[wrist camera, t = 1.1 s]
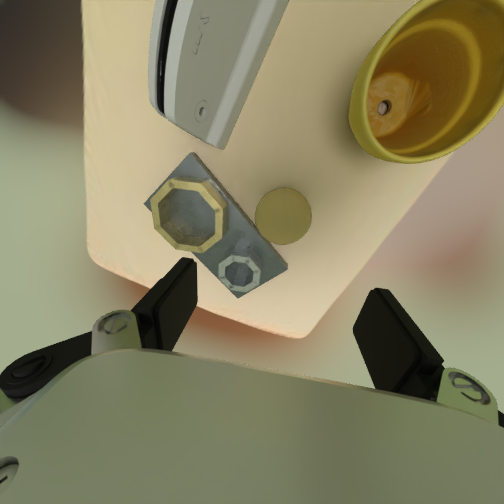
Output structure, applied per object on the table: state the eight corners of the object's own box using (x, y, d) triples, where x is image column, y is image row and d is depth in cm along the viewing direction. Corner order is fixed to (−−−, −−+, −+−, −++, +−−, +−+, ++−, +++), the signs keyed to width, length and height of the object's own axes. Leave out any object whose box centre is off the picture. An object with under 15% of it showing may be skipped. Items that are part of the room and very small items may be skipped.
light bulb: (277, 231, 32) (275, 263, 23) (252, 197, 30) (239, 219, 21) (313, 207, 29) (327, 233, 20) (289, 169, 27) (292, 180, 19)
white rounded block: (222, 152, 28) (164, 135, 19) (197, 134, 28) (130, 110, 20) (294, -13, 20) (252, -172, 11) (257, -31, 21) (190, -191, 12)
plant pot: (457, 75, 21) (576, 26, 13) (387, 171, 26) (438, 184, 17) (370, 26, 20) (435, -61, 12) (315, 136, 25) (332, 130, 17)
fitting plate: (194, 152, 28) (179, 153, 24) (287, 264, 34) (288, 280, 30) (149, 201, 32) (130, 209, 28) (239, 293, 38) (234, 310, 34)
